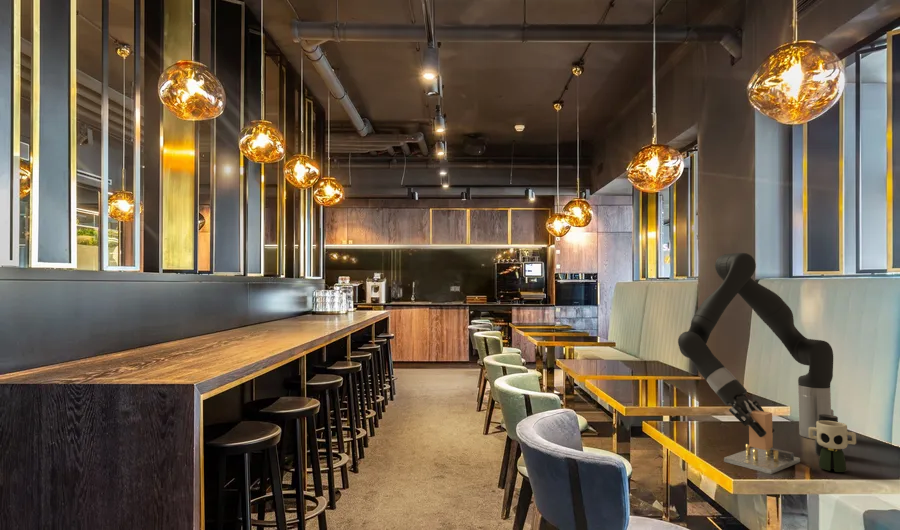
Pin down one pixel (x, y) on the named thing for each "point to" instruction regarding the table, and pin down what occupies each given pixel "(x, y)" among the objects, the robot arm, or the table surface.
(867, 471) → the table surface
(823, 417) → the supplement bottle
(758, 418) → the block
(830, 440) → the character mug
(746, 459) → the plate
